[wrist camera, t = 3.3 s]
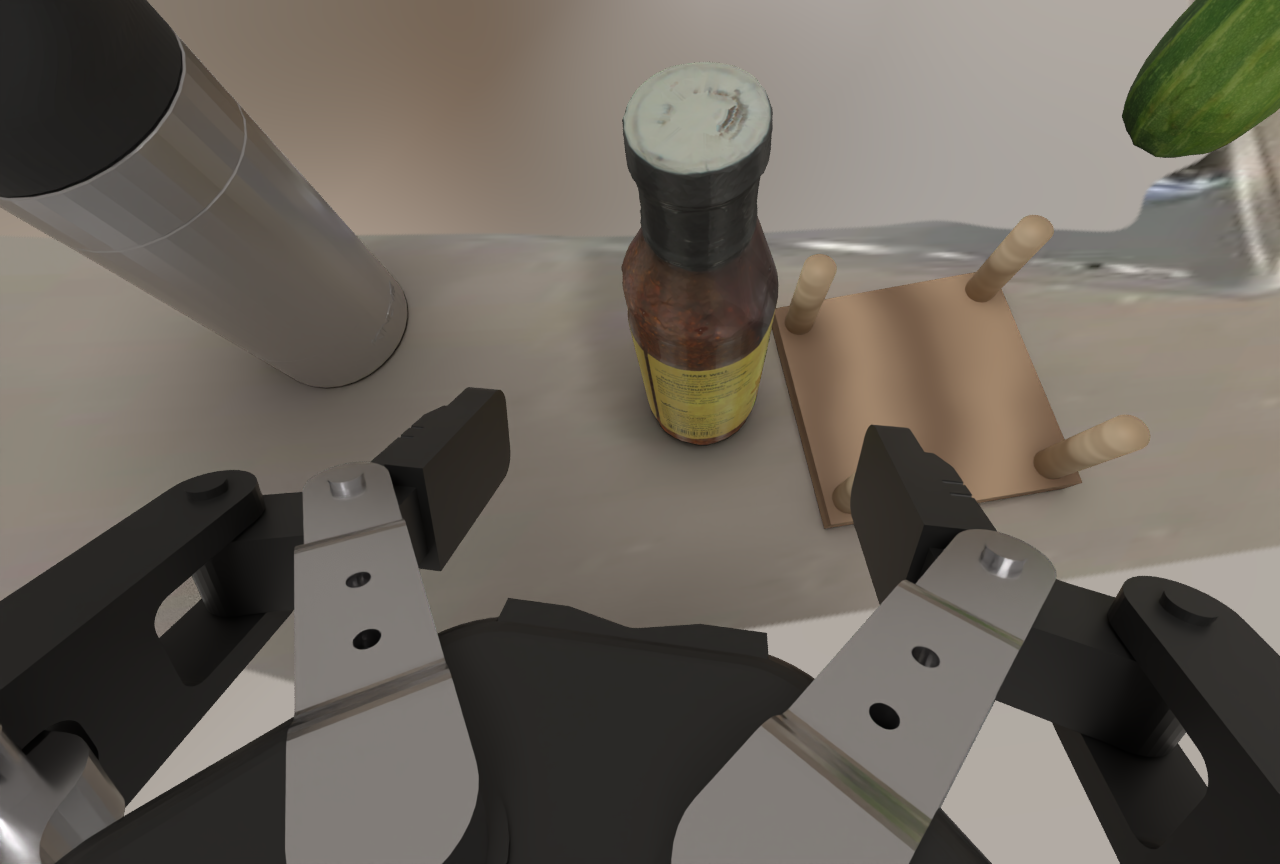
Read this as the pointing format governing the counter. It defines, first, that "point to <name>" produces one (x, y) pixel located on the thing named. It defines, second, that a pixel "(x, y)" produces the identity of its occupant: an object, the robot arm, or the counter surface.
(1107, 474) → the counter surface
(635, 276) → the sauce bottle
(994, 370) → the peg stand
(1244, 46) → the vegetable
